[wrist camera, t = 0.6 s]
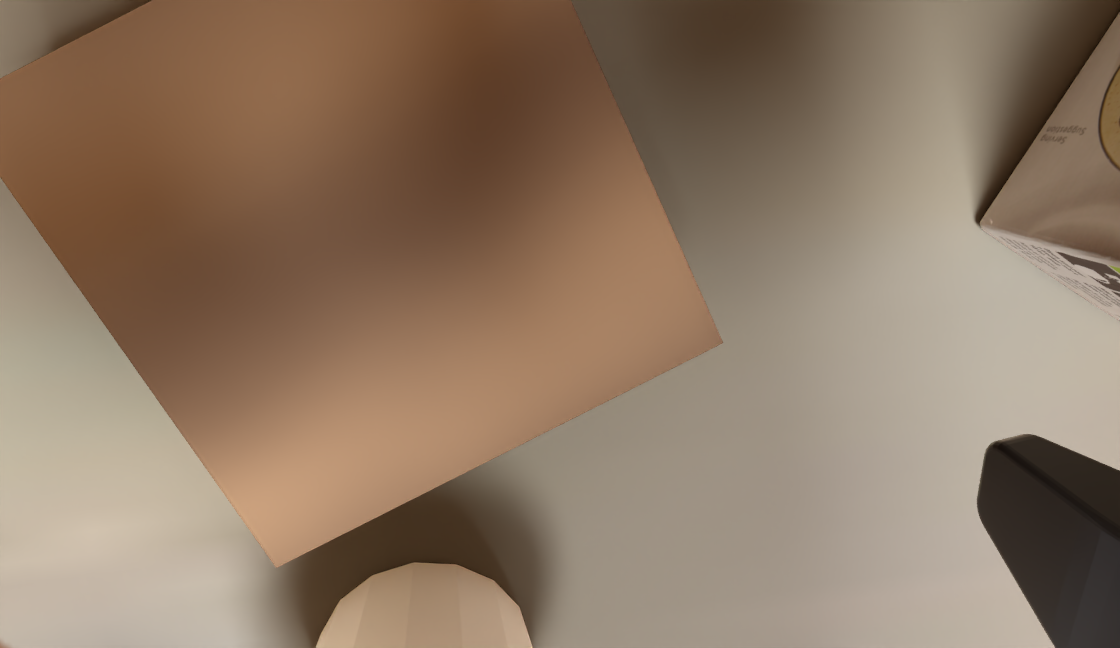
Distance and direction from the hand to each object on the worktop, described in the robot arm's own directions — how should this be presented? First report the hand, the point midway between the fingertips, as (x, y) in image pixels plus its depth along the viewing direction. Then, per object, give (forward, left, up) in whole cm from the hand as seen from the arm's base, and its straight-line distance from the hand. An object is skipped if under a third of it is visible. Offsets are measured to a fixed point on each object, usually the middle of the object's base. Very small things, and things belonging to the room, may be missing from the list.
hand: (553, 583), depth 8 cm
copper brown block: (+3, +1, -12) cm, 13 cm away
